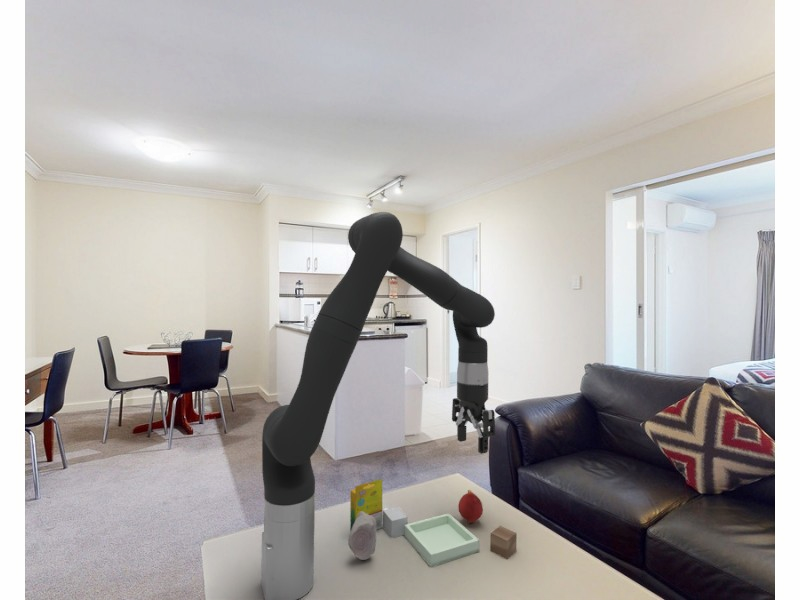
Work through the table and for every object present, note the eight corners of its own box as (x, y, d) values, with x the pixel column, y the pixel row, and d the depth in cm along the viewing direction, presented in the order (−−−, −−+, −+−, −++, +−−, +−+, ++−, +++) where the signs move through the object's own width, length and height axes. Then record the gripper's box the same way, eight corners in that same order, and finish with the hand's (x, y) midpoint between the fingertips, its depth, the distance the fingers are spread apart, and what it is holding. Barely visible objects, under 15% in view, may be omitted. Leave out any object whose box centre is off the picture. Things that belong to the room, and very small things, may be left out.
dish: (431, 567, 81) (431, 554, 81) (404, 535, 92) (404, 524, 92) (479, 551, 86) (479, 540, 86) (448, 523, 97) (448, 513, 97)
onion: (481, 517, 100) (481, 485, 100) (483, 530, 94) (484, 496, 94) (457, 515, 100) (458, 484, 100) (458, 528, 95) (459, 495, 95)
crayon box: (376, 522, 97) (377, 474, 97) (383, 528, 95) (383, 478, 95) (349, 531, 93) (350, 481, 93) (355, 537, 91) (355, 486, 91)
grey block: (391, 538, 91) (391, 520, 91) (382, 527, 95) (383, 510, 95) (407, 534, 92) (407, 516, 93) (397, 523, 97) (398, 506, 97)
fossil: (348, 568, 80) (349, 518, 80) (346, 557, 84) (347, 509, 84) (377, 563, 82) (377, 514, 82) (373, 553, 85) (374, 506, 85)
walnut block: (507, 559, 84) (507, 540, 84) (490, 551, 86) (490, 532, 86) (516, 551, 87) (516, 532, 87) (499, 543, 89) (500, 525, 89)
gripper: (443, 376, 102) (443, 439, 102) (477, 387, 89) (477, 459, 89) (468, 374, 105) (467, 435, 105) (504, 384, 92) (503, 454, 92)
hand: (472, 446), depth 97 cm, fingers open, 8 cm apart
